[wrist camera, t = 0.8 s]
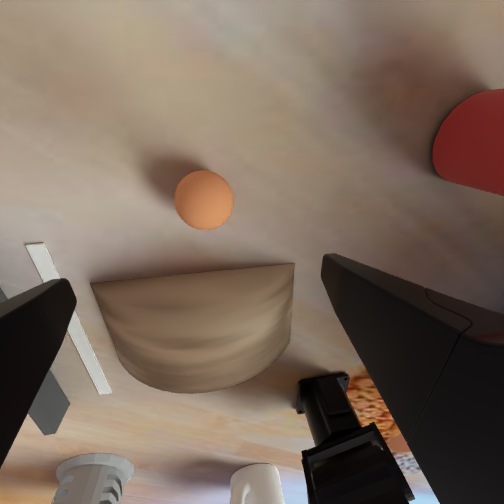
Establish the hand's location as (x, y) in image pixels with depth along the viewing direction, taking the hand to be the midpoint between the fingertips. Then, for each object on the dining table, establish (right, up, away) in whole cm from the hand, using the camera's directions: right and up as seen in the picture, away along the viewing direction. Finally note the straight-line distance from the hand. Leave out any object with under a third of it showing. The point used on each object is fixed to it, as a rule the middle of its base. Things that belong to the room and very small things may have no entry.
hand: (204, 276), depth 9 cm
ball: (-2, +4, +8) cm, 10 cm away
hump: (-6, +3, +31) cm, 32 cm away
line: (-14, -6, +14) cm, 21 cm away
